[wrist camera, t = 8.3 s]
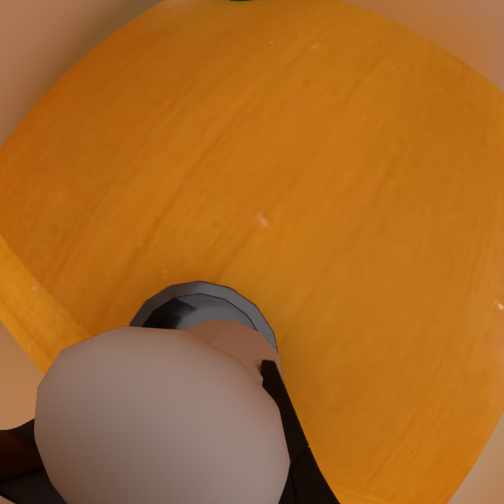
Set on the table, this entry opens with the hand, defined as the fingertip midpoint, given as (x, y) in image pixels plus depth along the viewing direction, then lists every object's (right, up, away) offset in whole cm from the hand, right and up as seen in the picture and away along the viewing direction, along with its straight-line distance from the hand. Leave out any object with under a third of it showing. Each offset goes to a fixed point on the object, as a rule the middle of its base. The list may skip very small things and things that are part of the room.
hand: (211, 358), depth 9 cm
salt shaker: (0, -3, +6) cm, 7 cm away
